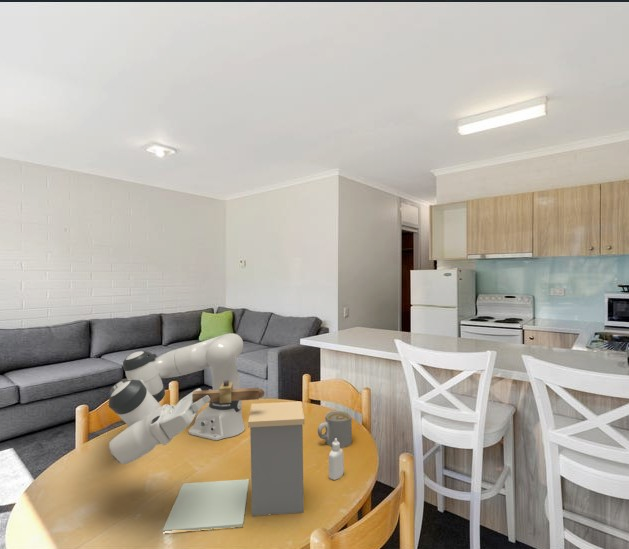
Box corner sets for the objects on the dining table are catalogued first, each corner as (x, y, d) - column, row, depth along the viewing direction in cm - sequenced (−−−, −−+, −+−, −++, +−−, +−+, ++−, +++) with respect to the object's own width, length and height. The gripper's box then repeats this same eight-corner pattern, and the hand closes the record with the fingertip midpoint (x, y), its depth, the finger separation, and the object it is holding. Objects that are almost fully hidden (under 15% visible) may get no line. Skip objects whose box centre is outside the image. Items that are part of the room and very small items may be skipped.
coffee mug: (347, 434, 146) (347, 409, 146) (355, 446, 136) (354, 419, 136) (314, 437, 144) (314, 412, 143) (320, 450, 134) (319, 423, 134)
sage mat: (162, 534, 93) (162, 530, 93) (183, 486, 112) (183, 483, 112) (242, 527, 95) (242, 523, 95) (249, 482, 114) (249, 479, 114)
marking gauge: (191, 404, 99) (191, 385, 99) (195, 398, 104) (195, 380, 104) (264, 400, 101) (263, 382, 101) (264, 394, 106) (264, 376, 106)
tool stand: (249, 517, 98) (248, 421, 98) (253, 488, 111) (251, 403, 110) (305, 513, 100) (304, 418, 99) (302, 485, 113) (301, 401, 112)
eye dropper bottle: (325, 474, 118) (325, 437, 118) (341, 470, 120) (340, 434, 120) (331, 481, 114) (330, 443, 114) (347, 477, 116) (346, 440, 116)
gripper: (183, 415, 112) (222, 391, 113) (162, 449, 91) (210, 418, 92) (171, 398, 111) (211, 374, 112) (148, 428, 91) (196, 398, 92)
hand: (210, 394), depth 102 cm, fingers closed on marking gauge, 2 cm apart
